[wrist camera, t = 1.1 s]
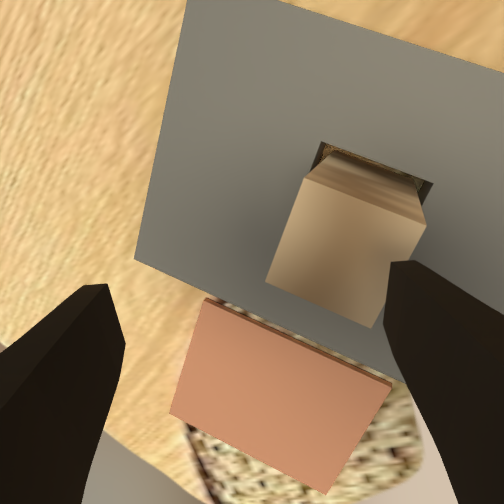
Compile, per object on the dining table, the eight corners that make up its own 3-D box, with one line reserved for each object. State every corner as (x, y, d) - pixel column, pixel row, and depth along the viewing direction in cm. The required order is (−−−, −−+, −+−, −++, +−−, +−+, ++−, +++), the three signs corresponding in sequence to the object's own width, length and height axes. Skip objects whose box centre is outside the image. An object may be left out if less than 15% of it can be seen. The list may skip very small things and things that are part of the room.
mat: (391, 383, 23) (391, 387, 23) (326, 489, 28) (325, 495, 27) (206, 297, 25) (203, 300, 25) (171, 409, 30) (169, 413, 29)
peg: (413, 179, 19) (426, 225, 12) (377, 251, 21) (371, 328, 14) (334, 149, 20) (303, 177, 13) (305, 222, 22) (264, 281, 15)
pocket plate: (669, 135, 16) (714, 141, 14) (479, 389, 22) (490, 422, 20) (215, -13, 19) (192, -28, 17) (156, 244, 25) (133, 258, 23)
